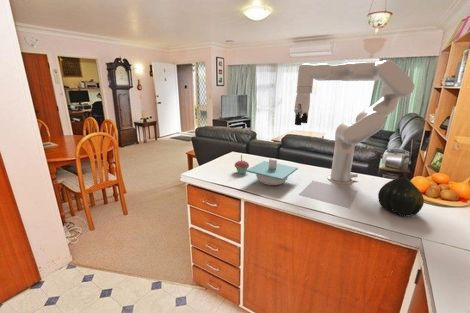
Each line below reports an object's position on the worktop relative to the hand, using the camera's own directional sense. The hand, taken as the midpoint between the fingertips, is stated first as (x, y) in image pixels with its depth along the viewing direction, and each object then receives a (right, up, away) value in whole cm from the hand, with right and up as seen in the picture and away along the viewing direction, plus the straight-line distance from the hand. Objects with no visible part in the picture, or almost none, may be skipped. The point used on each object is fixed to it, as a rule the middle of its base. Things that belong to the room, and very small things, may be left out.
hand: (301, 124), depth 123 cm
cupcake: (-31, -27, +16) cm, 44 cm away
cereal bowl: (-16, -31, +1) cm, 35 cm away
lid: (-15, -24, -1) cm, 29 cm away
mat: (+10, -35, -11) cm, 38 cm away
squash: (+32, -40, -26) cm, 57 cm away
